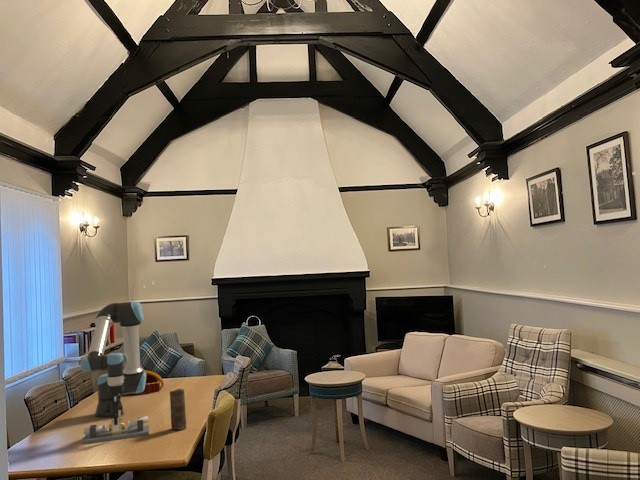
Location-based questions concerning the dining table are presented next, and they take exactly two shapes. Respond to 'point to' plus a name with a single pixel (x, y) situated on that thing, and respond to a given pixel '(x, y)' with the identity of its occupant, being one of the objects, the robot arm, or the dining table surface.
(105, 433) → the shaft mount
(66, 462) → the dining table surface
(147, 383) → the decorative basket
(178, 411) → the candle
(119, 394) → the robot arm
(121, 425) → the coupler
